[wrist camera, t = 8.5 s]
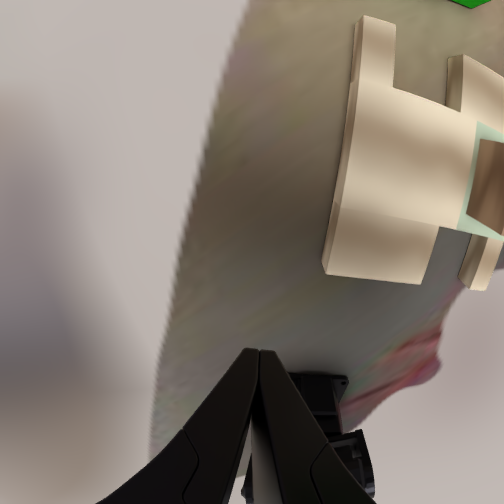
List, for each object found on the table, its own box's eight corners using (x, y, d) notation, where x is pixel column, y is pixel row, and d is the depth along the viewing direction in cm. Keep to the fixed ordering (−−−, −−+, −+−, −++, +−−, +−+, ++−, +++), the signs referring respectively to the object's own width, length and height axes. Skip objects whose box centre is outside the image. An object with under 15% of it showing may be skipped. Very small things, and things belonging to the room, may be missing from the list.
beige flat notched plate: (473, 279, 19) (485, 290, 18) (321, 260, 20) (325, 274, 18) (511, 94, 13) (527, 94, 11) (354, 25, 13) (363, 14, 11)
